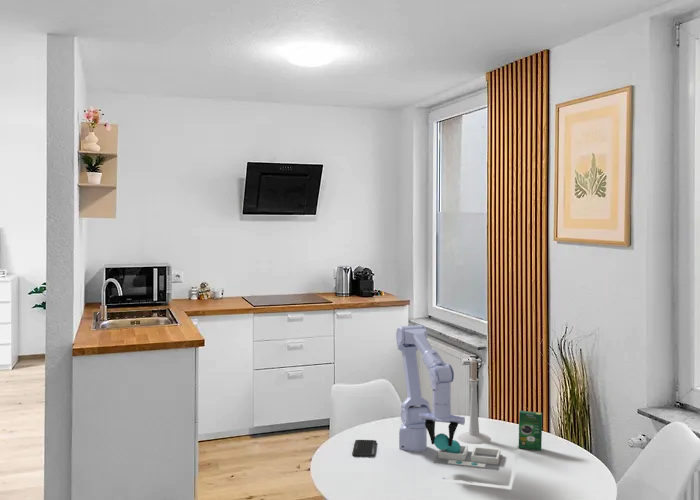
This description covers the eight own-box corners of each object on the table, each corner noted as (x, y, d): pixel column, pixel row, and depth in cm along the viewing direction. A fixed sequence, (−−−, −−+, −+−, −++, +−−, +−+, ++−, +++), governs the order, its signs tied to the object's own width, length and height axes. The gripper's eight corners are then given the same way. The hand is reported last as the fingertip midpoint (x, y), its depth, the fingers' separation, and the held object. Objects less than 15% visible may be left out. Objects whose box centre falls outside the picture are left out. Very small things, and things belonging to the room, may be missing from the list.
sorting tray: (433, 465, 207) (433, 456, 207) (441, 451, 220) (441, 442, 220) (498, 473, 200) (498, 463, 200) (502, 457, 213) (502, 449, 213)
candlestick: (496, 439, 232) (496, 358, 231) (484, 449, 221) (484, 365, 220) (464, 433, 239) (464, 355, 238) (451, 443, 228) (450, 361, 227)
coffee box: (542, 448, 222) (542, 411, 221) (542, 451, 219) (542, 414, 219) (518, 446, 224) (518, 409, 224) (518, 448, 222) (518, 412, 221)
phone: (376, 440, 230) (374, 455, 215) (376, 443, 230) (374, 458, 215) (355, 439, 231) (351, 454, 216) (355, 442, 231) (351, 457, 216)
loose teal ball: (432, 451, 200) (432, 435, 200) (435, 445, 205) (435, 430, 205) (448, 452, 198) (448, 437, 198) (450, 447, 203) (450, 432, 203)
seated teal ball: (444, 456, 212) (444, 442, 212) (447, 451, 217) (447, 437, 217) (459, 458, 210) (459, 443, 210) (461, 453, 215) (461, 438, 215)
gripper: (416, 403, 200) (417, 446, 200) (462, 407, 195) (462, 450, 195) (421, 398, 206) (421, 438, 207) (465, 401, 202) (465, 443, 202)
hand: (441, 444), depth 202 cm, fingers closed on loose teal ball, 5 cm apart
